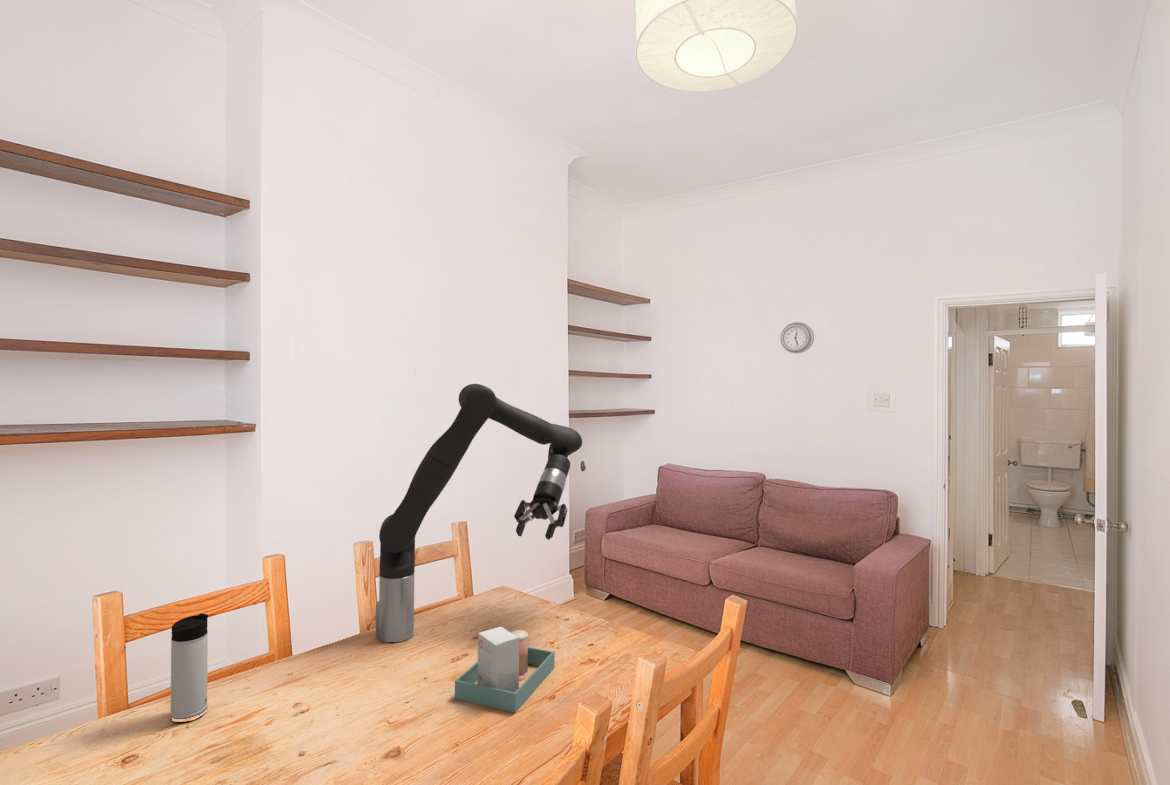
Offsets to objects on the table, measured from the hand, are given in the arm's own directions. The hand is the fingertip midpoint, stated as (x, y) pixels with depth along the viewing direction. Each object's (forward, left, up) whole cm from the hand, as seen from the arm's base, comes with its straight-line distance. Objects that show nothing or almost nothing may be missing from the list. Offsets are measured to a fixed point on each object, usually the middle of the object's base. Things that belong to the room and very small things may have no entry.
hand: (533, 536), depth 157 cm
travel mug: (-51, -58, -29) cm, 82 cm away
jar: (+4, -16, -29) cm, 33 cm away
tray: (+4, -22, -29) cm, 36 cm away
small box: (+4, -26, -29) cm, 39 cm away
